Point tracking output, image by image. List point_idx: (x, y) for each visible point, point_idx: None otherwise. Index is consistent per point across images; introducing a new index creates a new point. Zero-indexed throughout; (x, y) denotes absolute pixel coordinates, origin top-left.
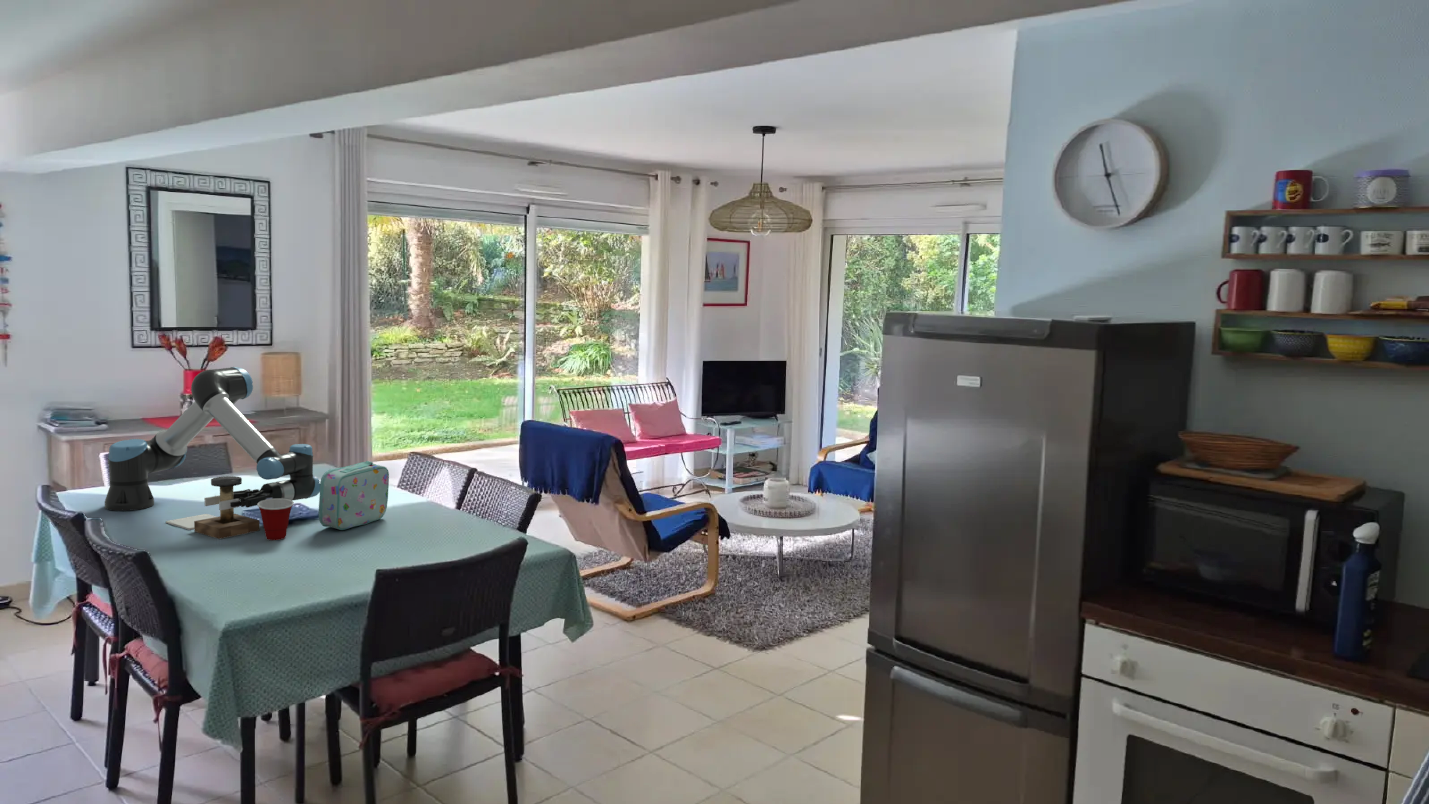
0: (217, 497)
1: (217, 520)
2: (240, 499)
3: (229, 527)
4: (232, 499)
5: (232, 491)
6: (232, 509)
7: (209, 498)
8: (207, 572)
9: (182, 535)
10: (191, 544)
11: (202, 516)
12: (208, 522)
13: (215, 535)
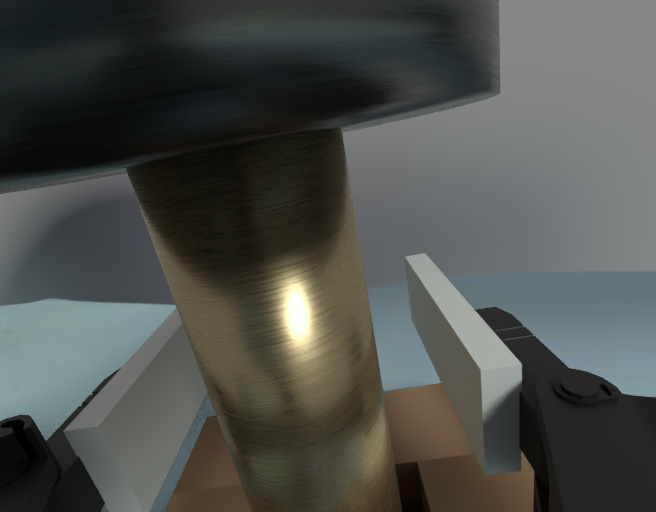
0: (440, 320)
1: (428, 502)
2: (44, 445)
3: (181, 488)
4: (212, 404)
5: (175, 298)
6: (249, 505)
7: (415, 276)
8: (41, 337)
9: (424, 376)
10: None
11: None
12: (388, 422)
13: None
